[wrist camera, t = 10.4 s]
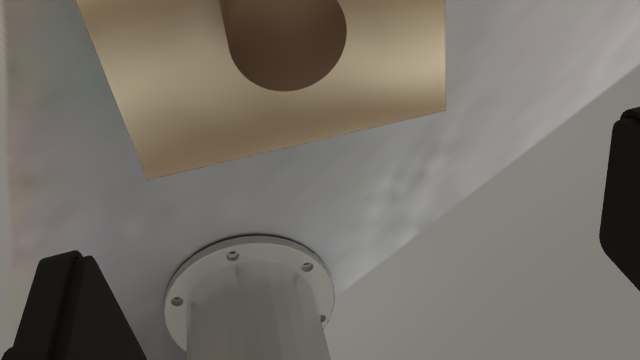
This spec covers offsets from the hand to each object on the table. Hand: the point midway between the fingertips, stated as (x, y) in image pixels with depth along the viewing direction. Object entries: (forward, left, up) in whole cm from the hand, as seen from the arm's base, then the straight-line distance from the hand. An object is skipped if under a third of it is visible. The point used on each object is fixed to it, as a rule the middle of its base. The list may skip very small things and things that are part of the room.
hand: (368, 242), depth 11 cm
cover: (0, 0, -16) cm, 16 cm away
